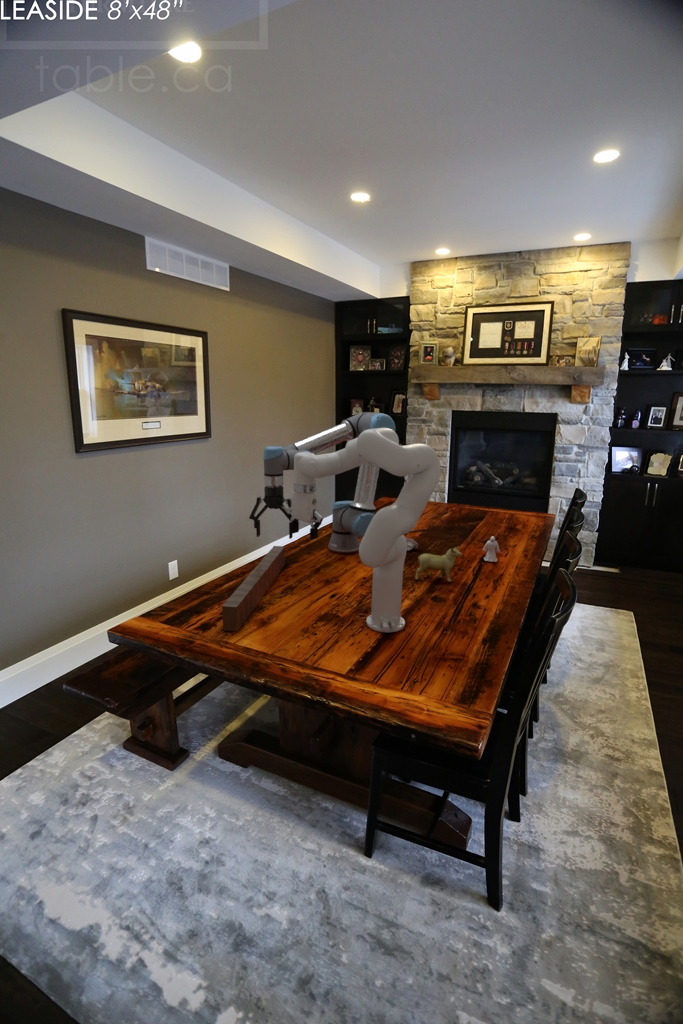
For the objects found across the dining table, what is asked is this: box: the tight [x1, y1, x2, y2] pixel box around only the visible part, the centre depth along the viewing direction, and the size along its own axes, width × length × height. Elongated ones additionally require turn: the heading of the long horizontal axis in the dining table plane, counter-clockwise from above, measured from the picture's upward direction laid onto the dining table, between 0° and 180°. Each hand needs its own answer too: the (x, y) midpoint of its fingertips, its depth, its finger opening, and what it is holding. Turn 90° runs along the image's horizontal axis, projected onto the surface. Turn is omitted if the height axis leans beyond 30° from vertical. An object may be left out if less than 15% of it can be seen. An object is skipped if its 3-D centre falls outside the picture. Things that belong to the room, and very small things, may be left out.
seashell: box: [405, 537, 419, 552], centre depth 237 cm, size 8×5×8 cm
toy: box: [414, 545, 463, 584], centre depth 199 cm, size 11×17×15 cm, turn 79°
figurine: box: [482, 535, 501, 563], centre depth 223 cm, size 8×8×12 cm
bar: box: [221, 545, 286, 633], centre depth 184 cm, size 61×5×8 cm, turn 172°
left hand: (274, 536), depth 204 cm, fingers open, 13 cm apart
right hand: (304, 535), depth 177 cm, fingers open, 9 cm apart
